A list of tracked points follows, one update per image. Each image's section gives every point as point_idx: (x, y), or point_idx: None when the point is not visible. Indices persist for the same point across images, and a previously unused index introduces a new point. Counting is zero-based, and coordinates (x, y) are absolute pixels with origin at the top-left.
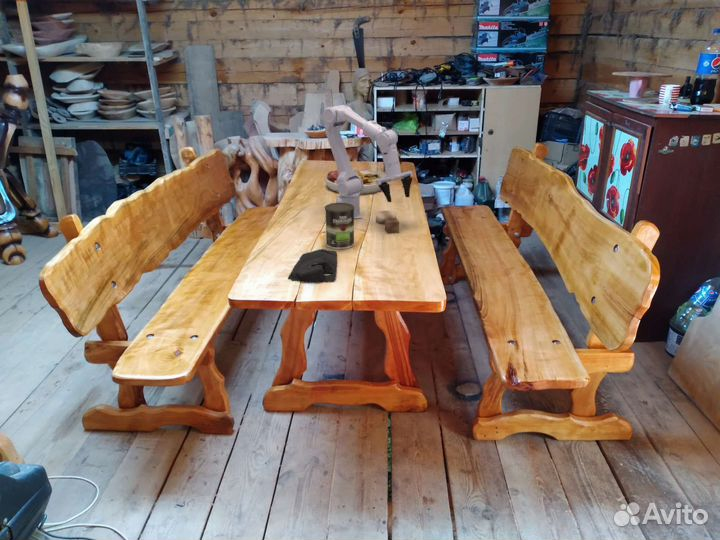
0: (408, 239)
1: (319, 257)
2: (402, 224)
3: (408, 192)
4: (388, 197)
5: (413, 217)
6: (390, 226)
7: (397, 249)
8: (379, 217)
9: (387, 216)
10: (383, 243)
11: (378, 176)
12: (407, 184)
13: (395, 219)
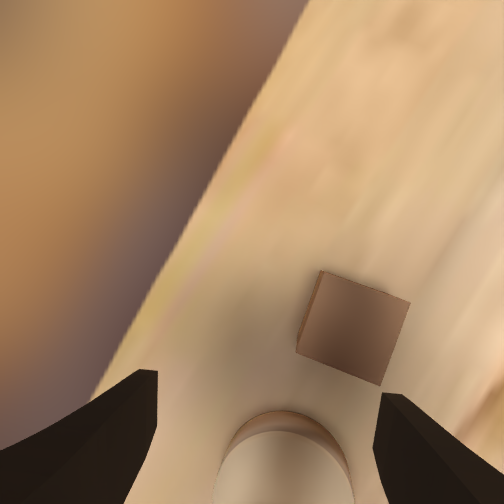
0: (328, 156)
1: None
2: (226, 378)
3: (121, 393)
4: (442, 438)
5: None
6: (379, 291)
7: (470, 49)
8: (351, 489)
9: (304, 456)
10: (497, 165)
11: None
12: (47, 473)
13: (319, 330)
